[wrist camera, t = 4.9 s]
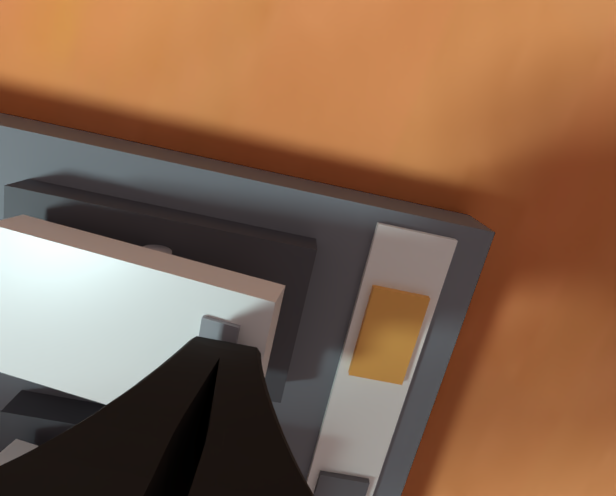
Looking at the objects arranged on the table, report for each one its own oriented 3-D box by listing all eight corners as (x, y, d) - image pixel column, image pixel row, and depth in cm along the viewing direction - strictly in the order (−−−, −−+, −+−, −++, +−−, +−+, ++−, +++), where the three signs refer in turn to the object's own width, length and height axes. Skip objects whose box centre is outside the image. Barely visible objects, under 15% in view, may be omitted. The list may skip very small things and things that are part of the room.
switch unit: (-74, 588, 19) (-162, 701, 15) (-99, 91, 13) (-251, 86, 9) (324, 644, 20) (329, 760, 16) (469, 215, 14) (524, 251, 11)
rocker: (18, 347, 12) (-19, 370, 11) (23, 214, 11) (-18, 224, 9) (256, 419, 11) (242, 450, 10) (285, 285, 10) (274, 304, 9)
